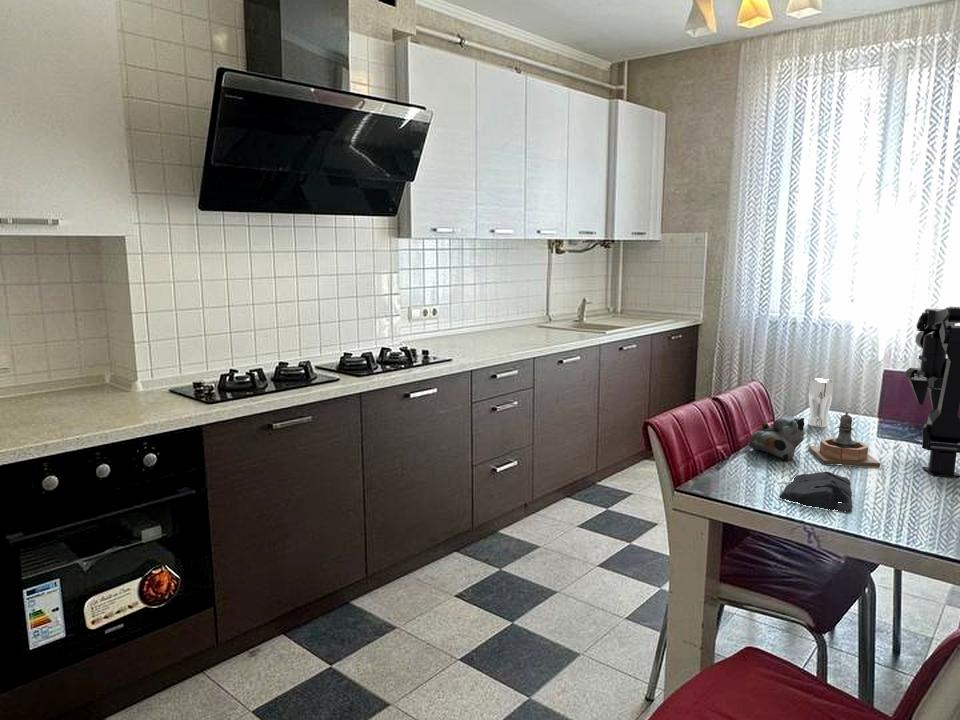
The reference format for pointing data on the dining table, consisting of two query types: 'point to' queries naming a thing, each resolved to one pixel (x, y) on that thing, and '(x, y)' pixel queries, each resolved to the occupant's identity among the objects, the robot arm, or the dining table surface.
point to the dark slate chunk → (820, 491)
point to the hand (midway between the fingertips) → (927, 408)
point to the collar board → (843, 454)
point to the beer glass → (820, 401)
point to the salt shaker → (845, 433)
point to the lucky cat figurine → (780, 437)
